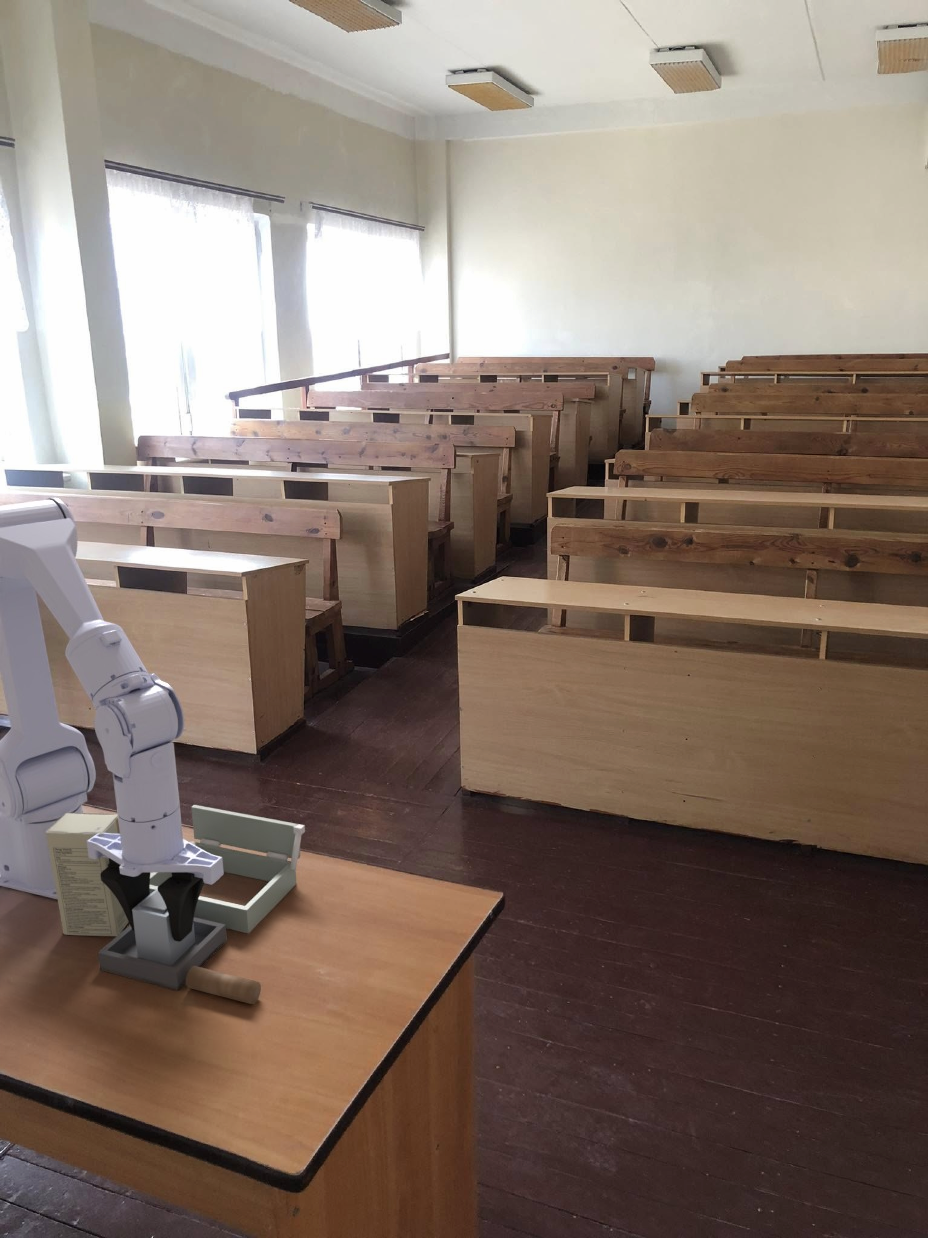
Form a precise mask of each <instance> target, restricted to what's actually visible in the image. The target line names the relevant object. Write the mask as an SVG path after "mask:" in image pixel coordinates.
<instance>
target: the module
mask: <svg viewBox="0 0 928 1238" xmlns="http://www.w3.org/2000/svg"><path fill="white" fill-rule="evenodd" d="M132 913H133V921H134V929H135V938H136V946H137V955H138V957H139V958H143V959H147V960H151V961H155V962H159V963H163V964H167V965H172V964H173V963H174V962H175V961H176V960H178V959H179V958H180V957H181V956H182V955H183V954H184V953H185V952H186V951H187V950H188V949H189V948H190V947H191V946H192V945H193V944H194V943H195V933H194V923H193V926H192V931H191V932H190V933H189V934H188V935H187V936H186V937H185V938H184V939H183V940H182V941H180V942H178V941H174V939H173V936H172V932H171V926H170V919H169V914H168V910H167V907H166V905H165V902H164V900H163V898H162V896H161V895H160V893H159V892H158V888H157V889H156V890H155V891H154V892H152V893H151V894H150V895H149V896H148V897H146V898H145V899H144V900H143V901H142V902H140V903H139V904H138V905H137V906H135V907H134V908H133V909H132Z"/></svg>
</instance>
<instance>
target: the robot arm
mask: <svg viewBox="0 0 928 1238" xmlns="http://www.w3.org/2000/svg"><path fill="white" fill-rule="evenodd" d="M77 530H78V529H77V524H76V521H75V518H74V515H73V513H72V511H71V509H70V508H69V507H68V505H66V503H65V502H63V500H61V499H60V498H58V497H48V498H45V499H40V500H33V501H25V502H17V503H16V502H15V503H11V504H10V503H9V504H1V505H0V678H1V682H2V687H3V689H2V690H3V694H4V698H5V703H6V708H7V714H8V719H9V725H10V729H9V730H8V732H7V733H6V734H5V735H4V736H3V737H2V738H0V887H4V888H8V889H11V890H17V891H21V892H26V893H30V894H34V895H38V896H41V897H46V898H50V899H55V900H58V899H57V893H56V887H55V882H54V876H53V870H52V864H51V859H50V853H49V847H48V842H47V836H46V831H47V830H48V829H49V828H50V827H52V826H53V825H54V824H55V823H56V822H57V821H58V820H59V819H60V818H62V817H63V816H64V815H65V814H66V813H84V810H83V804H84V803H86V802H88V796H87V795H88V794H87V793H90V792H91V791H92V790H93V788H94V785H95V781H96V776H97V775H96V772H97V771H96V766H95V762H94V760H93V757H92V755H91V753H90V751H89V749H88V746H87V742H86V738H85V735H84V734H83V733H82V732H81V731H80V730H78V729H77V728H75V727H73V726H71V725H68V724H66V723H63V722H60V716H59V712H58V711H59V710H58V707H57V706H58V705H57V701H56V695H55V690H54V684H53V678H52V673H51V669H50V663H49V657H48V651H47V647H46V640H45V635H44V630H43V624H42V618H41V614H40V608H39V604H38V597H37V594H38V596H39V597H40V599H41V600H42V601H43V603H44V604H45V606H46V607H47V609H48V610H49V611H50V613H51V614H52V616H53V618H55V619H56V621H57V622H58V624H59V626H60V627H61V629H62V630H63V631H64V632H65V634H66V636H67V637H68V638H69V640H68V643H67V645H66V648H65V651H64V655H65V658H66V660H67V661H68V663H69V665H70V667H71V669H72V671H73V672H74V674H75V676H76V677H77V679H78V681H79V683H80V684H81V686H82V688H83V690H84V692H85V693H86V695H87V697H88V698H89V700H90V702H91V704H92V705H93V708H94V709H95V714H94V720H93V726H94V730H95V735H96V737H97V740H98V742H99V744H100V746H101V748H102V753H103V757H104V764H105V765H106V768H107V770H108V771H109V772H111V773H112V779H113V787H114V795H115V797H114V798H115V803H116V811H117V813H116V814H118V823H119V830H120V834H111V833H103V837H99V834H100V833H98V834H96V835H95V836H93V837H92V838H90V839H89V840H88V841H87V848H88V856H89V858H91V859H99V858H100V857H101V856H102V857H106V858H109V864H108V867H107V868H106V869H105V870H103V871H102V872H101V874H100V876H101V881H102V882H103V883H104V884H105V885H106V886H107V887H108V888H109V889H110V890H111V891H112V893H113V894H114V895H115V897H116V898H117V900H118V901H119V903H120V905H121V907H122V908H123V910H124V913H125V915H126V917H127V919H128V921H129V922H128V924H129V926H131V928H132V930H133V931H135V929H134V921H133V913H132V909H133V908H134V907H135V906H137V905H138V904H139V903H140V902H142V901H143V900H144V899H145V898H146V897H148V896H149V895H150V874H151V873H152V872H172V877H169V878H168V879H167V880H166V881H164V882H163V883H162V884H161V885H160V886H158V892H159V893H160V895H161V896H162V898H163V900H164V902H165V905H166V907H167V910H168V914H169V919H170V926H171V932H172V936H173V939H174V941H178V942H180V941H182V940H183V939H184V938H185V937H186V936H187V935H188V934H189V933H190V932H191V931H192V926H193V920H194V914H195V909H196V905H197V902H198V898H199V896H201V892H202V890H203V888H204V886H205V884H206V885H207V884H208V885H213V884H215V883H216V882H217V881H219V880H220V878H221V877H222V876H224V873H225V872H223V860H222V857H219V856H215V855H213V854H210V853H208V852H206V851H204V850H202V849H201V848H199V847H197V846H195V845H193V844H192V843H190V842H191V841H188V840H186V839H184V836H183V835H184V834H183V825H182V817H181V808H180V807H181V805H180V804H181V803H180V794H179V783H178V775H177V764H176V754H175V743H174V742H173V741H174V740H177V739H179V738H180V737H182V734H183V732H184V729H185V714H184V710H183V706H182V704H181V702H180V699H179V697H178V696H177V695H178V694H177V693H176V691H175V690H174V688H173V687H172V686H171V685H170V684H169V683H167V682H166V681H163V680H161V679H160V677H159V676H158V674H156V673H154V672H153V673H149V672H148V670H147V668H146V667H145V665H144V663H143V662H142V660H141V658H140V656H139V655H138V653H137V651H136V650H135V648H134V646H133V645H132V643H131V641H130V639H129V637H128V636H127V634H126V632H125V631H124V629H123V627H122V626H120V625H119V624H116V623H114V622H108V621H105V620H104V618H103V616H102V614H101V611H100V609H99V606H98V604H97V602H96V600H95V599H94V596H93V594H92V592H91V589H90V587H89V586H88V583H87V581H86V578H85V576H84V574H83V572H82V570H81V568H80V566H79V565H80V564H78V562H77V559H76V557H77V551H78V531H77Z"/></svg>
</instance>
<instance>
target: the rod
mask: <svg viewBox="0 0 928 1238" xmlns="http://www.w3.org/2000/svg"><path fill="white" fill-rule="evenodd" d="M185 986H186V987H187V988H189V989H192V990H196V991H199V992H204V993H207V994H211V995H215V996H219V997H223V998H226V999H230V1000H234V1001H238V1002H241V1003H245V1004H250V1005H255V1004H256V1002H257V1001H258V1000H259V998H260V995H261V990H262V984H261V983H260V982H259V981H255V980H252V979H248V978H243V977H240V976H237V975H233V974H229V973H226V972H225V973H224V972H222V971H221V972H220V971H217V970H212V969H210V968H206V967H205V968H204V967H197V966H193V967H192V968H191V969H190V970H189V972H188V974H187V976H186V983H185Z"/></svg>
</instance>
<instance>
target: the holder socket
mask: <svg viewBox="0 0 928 1238" xmlns="http://www.w3.org/2000/svg"><path fill="white" fill-rule="evenodd" d="M193 923H194V933H195V943H194V944H193V945H192V946H191V947H190V948H189V949H188V950H187V951H186V952H185V953H184V954H183V955H182V956H181V957H180V958H179V959H178V960H176V961H175V962H174V963H173V964H172V965H167V964H163V963H159V962H155V961H151V960H147V959H143V958H139V957H138V955H137V946H136V938H135V931H133V930H132V928H131V926H130V925H128V926H127V927H125V928H124V929H123V930H122V932H121V933H120V934H119V935H118V936H115V937H114V938H113V939H112V940H110V941H109V943H107V944H106V945H104V947H102V948H101V949H100V950H99V951H98V952H97V959H98V966H99V971H102V972H106V973H111V974H113V975H117V976H121V977H125V978H129V979H132V980H136V981H139V982H144V983H148V984H152V985H155V986H159V987H163V988H167V989H170V990H173V991H174V990H175V991H179V990H180V989H182V987H183V986H184V985H186V976H187V974H188V972H189V970H190V969H191V968H192V967H193V966H197V967H201V968H203V966H204V965H205V964H207V962H208V961H209V960H210V959H211V958H212V957H213V956H215V954H216V953H217V952H218V951H219V950H220V949H221V948H222V947H223V946H224V945H225V944H226V943H227V942H228V941H227V940H228V939H227V930H226V929H227V928H226V926H225V924H221V923H217V922H213V921H208V920H204V919H200V918H195V917H194V920H193Z"/></svg>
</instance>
